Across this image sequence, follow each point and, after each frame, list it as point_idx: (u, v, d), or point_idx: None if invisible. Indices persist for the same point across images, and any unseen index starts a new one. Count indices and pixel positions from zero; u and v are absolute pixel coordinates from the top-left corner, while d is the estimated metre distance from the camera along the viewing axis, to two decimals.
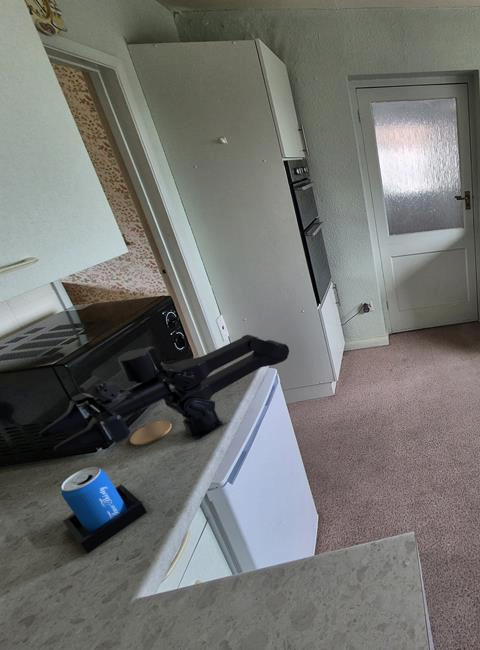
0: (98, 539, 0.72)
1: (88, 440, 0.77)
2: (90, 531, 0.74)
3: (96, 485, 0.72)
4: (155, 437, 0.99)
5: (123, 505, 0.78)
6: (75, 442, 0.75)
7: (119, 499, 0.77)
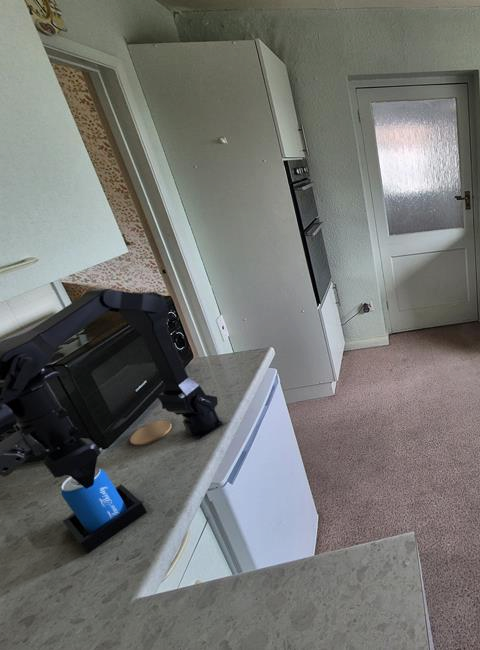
0: (98, 539, 0.72)
1: (86, 468, 0.68)
2: (90, 531, 0.74)
3: (96, 485, 0.72)
4: (155, 437, 0.99)
5: (123, 505, 0.78)
6: (85, 477, 0.69)
7: (119, 499, 0.77)
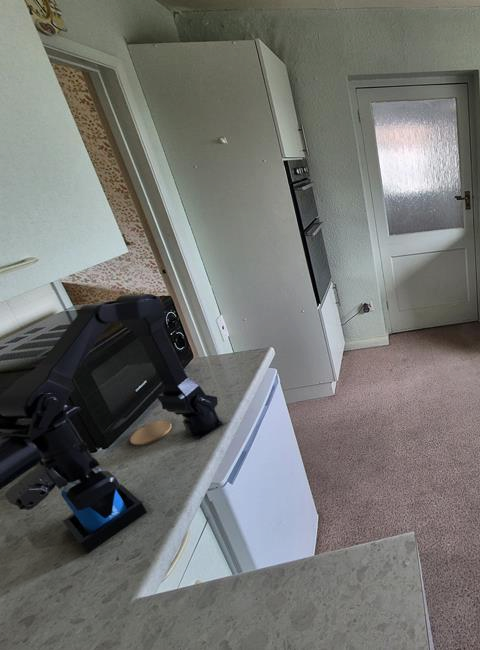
0: (98, 539, 0.72)
1: (105, 499, 0.71)
2: (90, 531, 0.74)
3: None
4: (155, 437, 0.99)
5: (123, 505, 0.78)
6: (104, 508, 0.72)
7: (119, 499, 0.77)
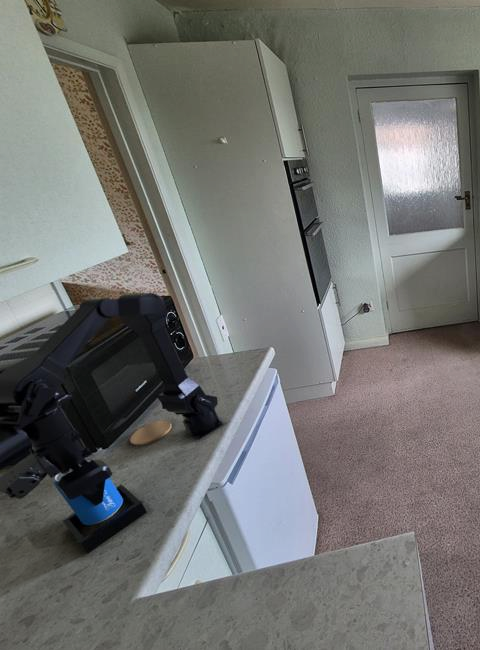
0: (98, 539, 0.72)
1: (96, 486, 0.71)
2: (85, 522, 0.73)
3: None
4: (155, 437, 0.99)
5: (118, 496, 0.77)
6: (94, 495, 0.71)
7: (114, 490, 0.76)
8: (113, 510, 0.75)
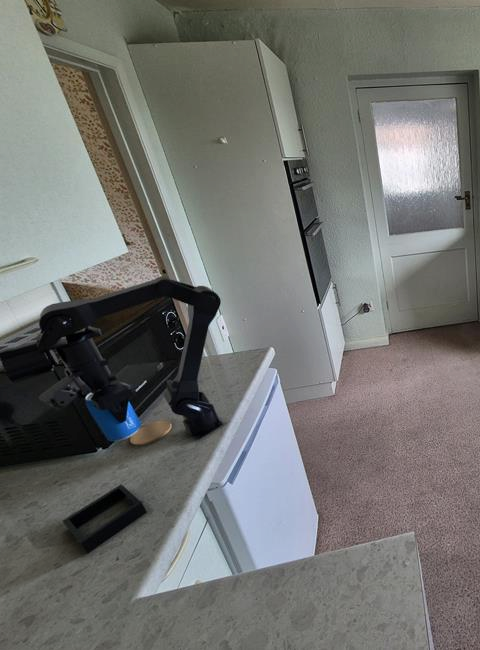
0: (98, 539, 0.72)
1: (121, 405, 0.84)
2: (111, 438, 0.86)
3: None
4: (155, 437, 0.99)
5: (138, 419, 0.90)
6: (119, 413, 0.85)
7: (134, 413, 0.89)
8: (134, 430, 0.89)
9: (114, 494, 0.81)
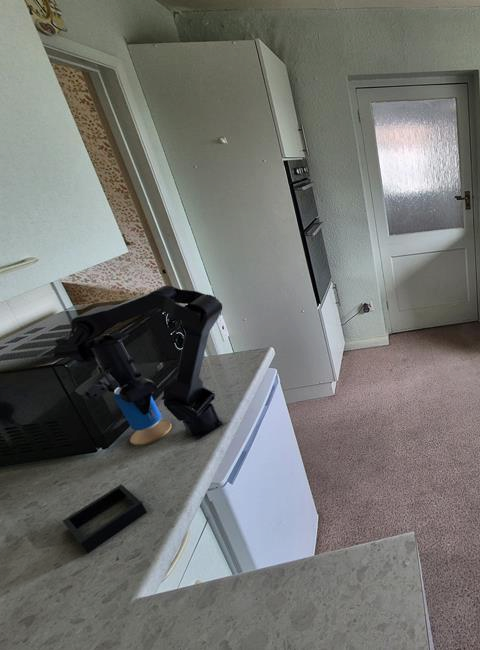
0: (98, 539, 0.72)
1: (144, 399, 0.95)
2: (135, 428, 0.97)
3: None
4: (155, 437, 0.99)
5: (158, 412, 1.01)
6: (143, 406, 0.95)
7: (155, 406, 1.00)
8: (155, 421, 0.99)
9: (114, 494, 0.81)
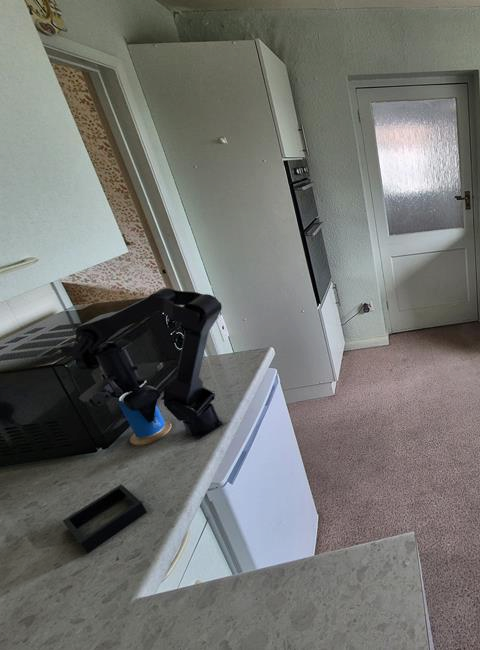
0: (98, 539, 0.72)
1: (149, 407, 0.95)
2: (139, 435, 0.98)
3: None
4: (155, 437, 0.99)
5: (162, 419, 1.02)
6: (148, 414, 0.96)
7: (159, 414, 1.01)
8: (159, 429, 1.00)
9: (114, 494, 0.81)
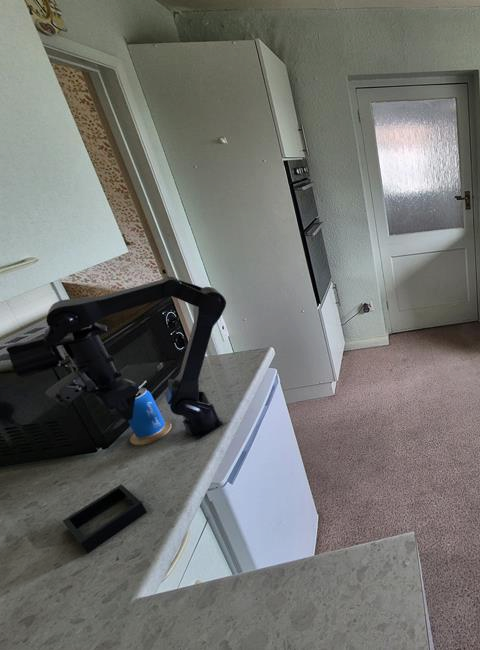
0: (98, 539, 0.72)
1: (127, 403, 0.85)
2: (139, 435, 0.98)
3: (144, 399, 0.96)
4: (155, 437, 0.99)
5: (162, 419, 1.02)
6: (126, 411, 0.85)
7: (159, 414, 1.01)
8: (159, 429, 1.00)
9: (114, 494, 0.81)
